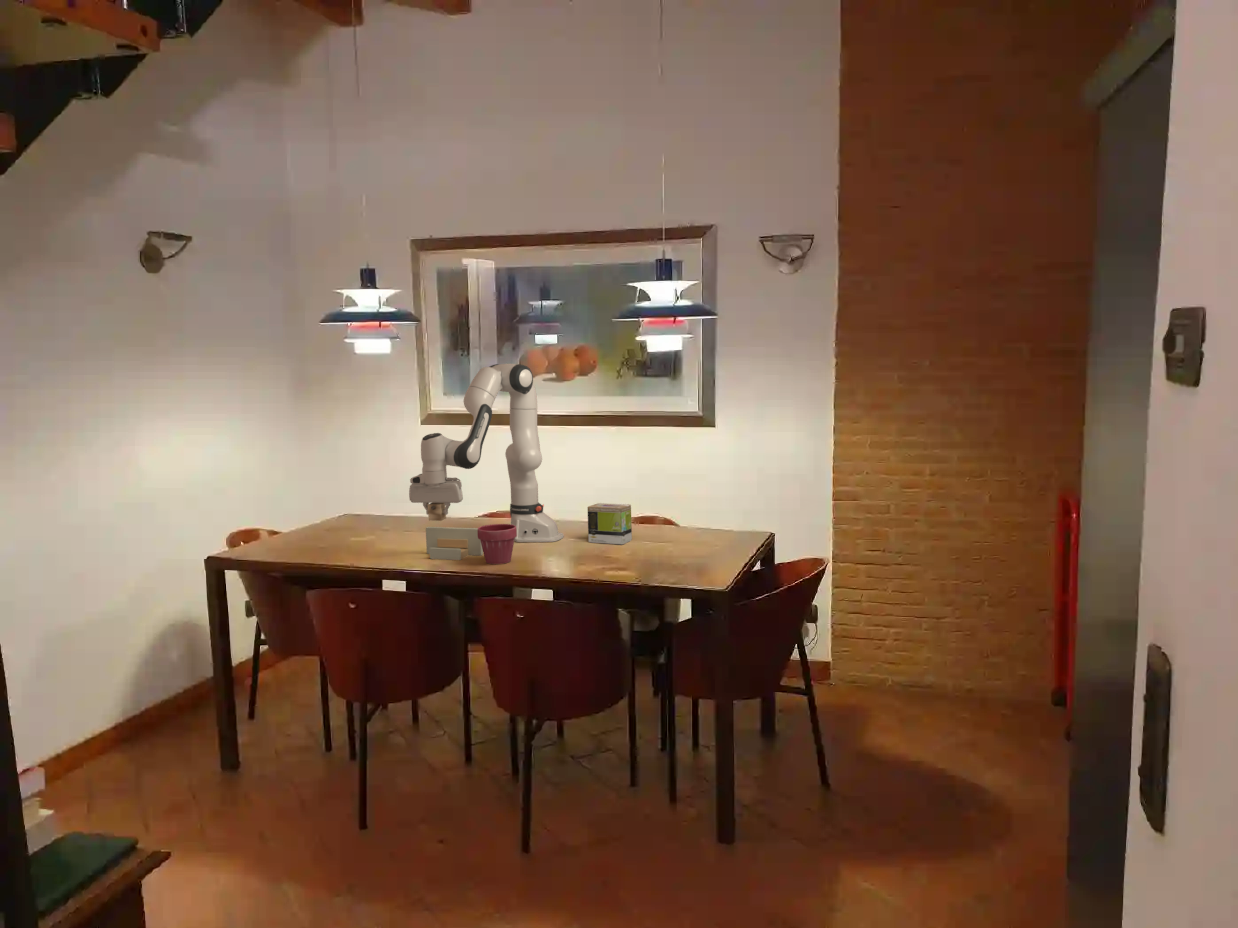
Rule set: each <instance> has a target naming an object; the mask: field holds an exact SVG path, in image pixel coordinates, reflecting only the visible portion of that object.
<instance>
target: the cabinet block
mask: <svg viewBox="0 0 1238 928" xmlns="http://www.w3.org/2000/svg"><path fill="white" fill-rule="evenodd" d="M445 507H446V506H445V504H444V503H429V504H428V521H429V522H433V521H435V522H437V521H438V522H441V521H443V520H446V519H447V515H443V514H442V513H443V512H442V510H444V509H445Z"/></svg>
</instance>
